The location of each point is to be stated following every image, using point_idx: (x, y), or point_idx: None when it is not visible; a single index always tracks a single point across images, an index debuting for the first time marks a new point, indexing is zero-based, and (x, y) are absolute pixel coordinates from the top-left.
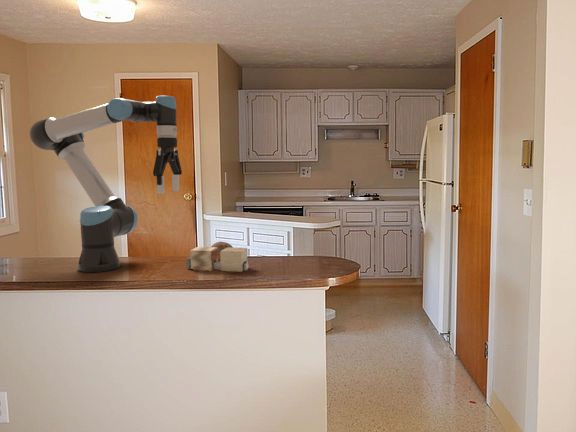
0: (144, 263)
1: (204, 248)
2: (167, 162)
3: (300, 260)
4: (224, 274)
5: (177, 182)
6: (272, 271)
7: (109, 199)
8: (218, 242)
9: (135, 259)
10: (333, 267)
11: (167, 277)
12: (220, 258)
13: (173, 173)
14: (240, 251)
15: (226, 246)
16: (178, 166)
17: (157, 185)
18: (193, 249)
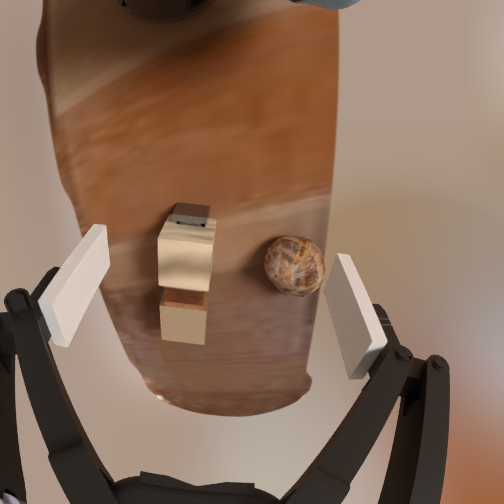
0: (239, 65)
1: (188, 266)
2: (106, 470)
3: (274, 374)
4: (142, 286)
5: (339, 325)
6: (182, 348)
7: None
8: (301, 276)
9: (299, 22)
10: (223, 402)
11: (93, 186)
12: (167, 292)
13: (386, 354)
14: (163, 337)
15: (286, 290)
16: (398, 431)
17: (71, 260)
18: (169, 243)
